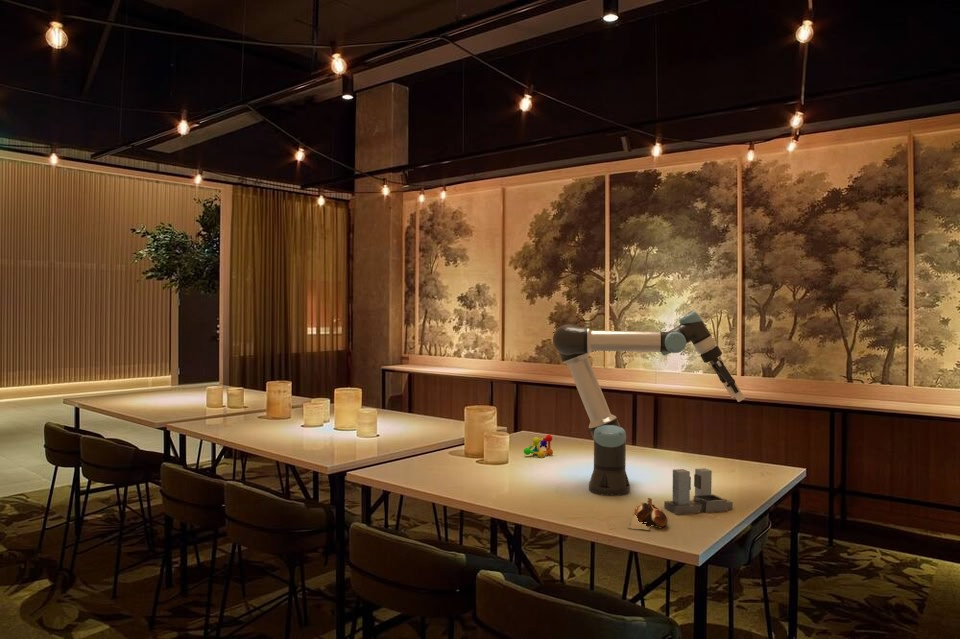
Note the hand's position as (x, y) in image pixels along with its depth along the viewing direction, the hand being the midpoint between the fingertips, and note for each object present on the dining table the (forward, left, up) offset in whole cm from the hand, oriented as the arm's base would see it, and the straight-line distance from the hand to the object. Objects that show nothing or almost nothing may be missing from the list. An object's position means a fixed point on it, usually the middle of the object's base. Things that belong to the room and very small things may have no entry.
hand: (738, 398), depth 258 cm
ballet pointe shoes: (-52, -24, -35) cm, 68 cm away
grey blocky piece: (-31, -19, -34) cm, 50 cm away
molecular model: (-48, +78, -35) cm, 98 cm away
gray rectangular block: (-23, -10, -34) cm, 42 cm away
